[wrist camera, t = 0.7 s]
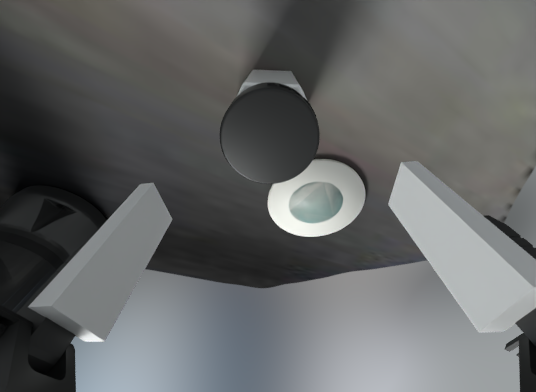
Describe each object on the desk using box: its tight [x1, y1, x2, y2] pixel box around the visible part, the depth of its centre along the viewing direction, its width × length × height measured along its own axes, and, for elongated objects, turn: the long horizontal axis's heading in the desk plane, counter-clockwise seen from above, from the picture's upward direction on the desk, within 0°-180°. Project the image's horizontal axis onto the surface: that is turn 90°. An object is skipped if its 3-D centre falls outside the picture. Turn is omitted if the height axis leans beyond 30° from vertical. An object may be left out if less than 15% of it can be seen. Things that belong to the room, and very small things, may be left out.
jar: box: [220, 70, 319, 184], centre depth 22 cm, size 9×8×12 cm
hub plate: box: [268, 159, 365, 237], centre depth 35 cm, size 16×16×1 cm
